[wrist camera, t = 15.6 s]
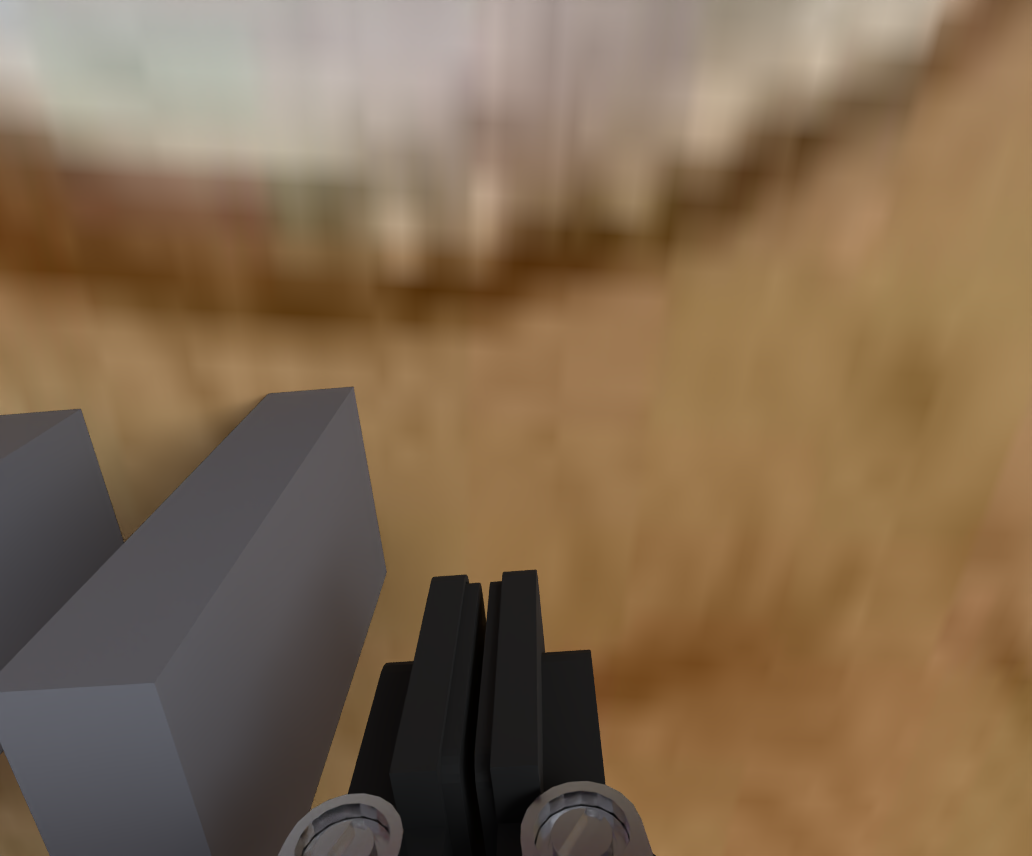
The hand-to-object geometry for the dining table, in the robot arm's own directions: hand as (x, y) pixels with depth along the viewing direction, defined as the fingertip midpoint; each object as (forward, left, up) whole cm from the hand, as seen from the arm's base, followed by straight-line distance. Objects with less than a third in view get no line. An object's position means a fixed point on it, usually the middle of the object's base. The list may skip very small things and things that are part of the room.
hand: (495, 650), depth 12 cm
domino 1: (+4, -2, -7) cm, 8 cm away
